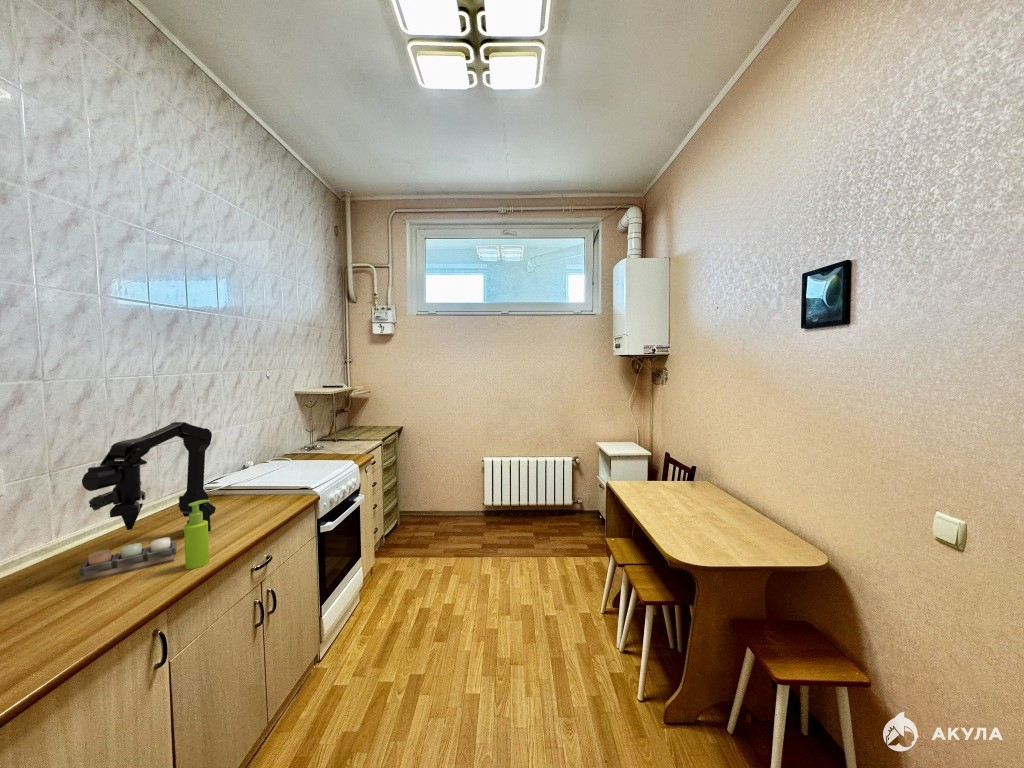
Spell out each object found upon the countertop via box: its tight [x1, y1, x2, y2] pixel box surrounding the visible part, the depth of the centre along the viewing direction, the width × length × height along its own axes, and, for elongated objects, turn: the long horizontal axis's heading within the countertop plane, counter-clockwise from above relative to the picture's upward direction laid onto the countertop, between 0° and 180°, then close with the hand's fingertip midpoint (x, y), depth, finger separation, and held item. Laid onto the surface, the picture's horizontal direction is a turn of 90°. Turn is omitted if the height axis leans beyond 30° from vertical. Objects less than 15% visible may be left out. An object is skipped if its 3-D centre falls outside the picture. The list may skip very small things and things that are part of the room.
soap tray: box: [77, 540, 178, 584], centre depth 125 cm, size 22×14×3 cm, turn 128°
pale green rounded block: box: [120, 542, 143, 559], centre depth 125 cm, size 5×5×4 cm
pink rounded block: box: [87, 549, 112, 566], centre depth 120 cm, size 5×5×4 cm
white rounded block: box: [150, 537, 171, 553], centre depth 129 cm, size 5×5×4 cm
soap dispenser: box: [183, 499, 211, 570], centre depth 124 cm, size 6×7×20 cm
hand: (129, 529), depth 124 cm, fingers closed
